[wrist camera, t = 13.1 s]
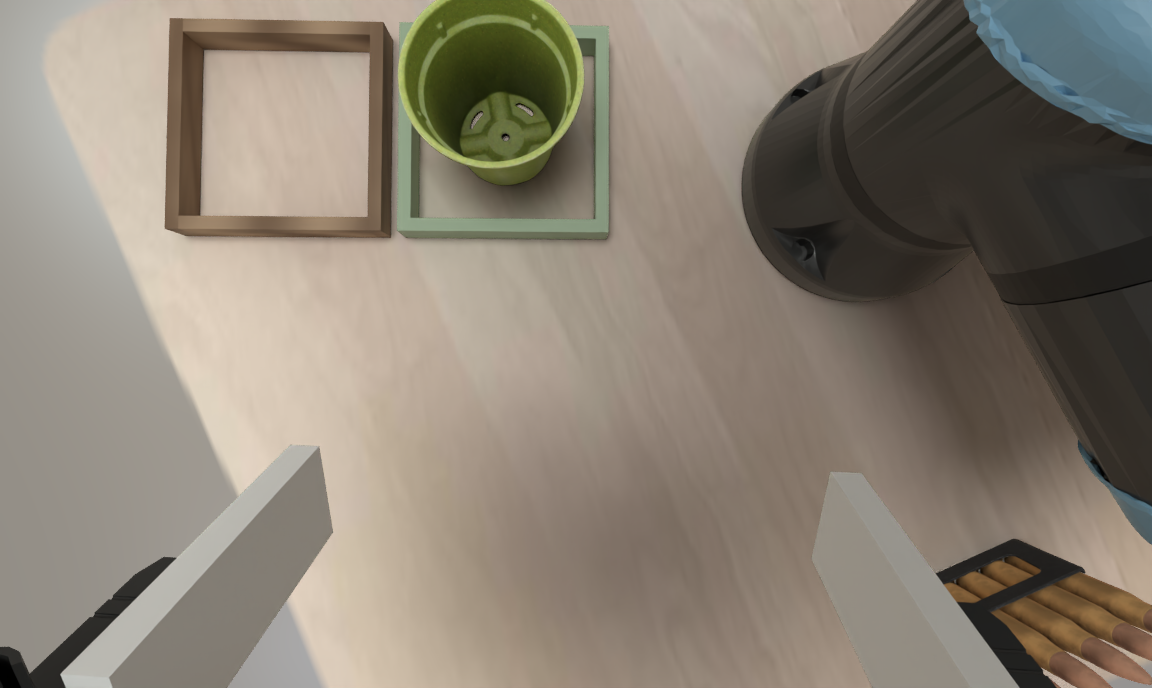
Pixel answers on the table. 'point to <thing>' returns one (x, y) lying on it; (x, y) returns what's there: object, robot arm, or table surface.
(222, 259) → the table surface
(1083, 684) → the ammunition clip
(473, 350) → the table surface
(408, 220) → the sage green collar
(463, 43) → the plant pot
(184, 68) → the walnut collar
